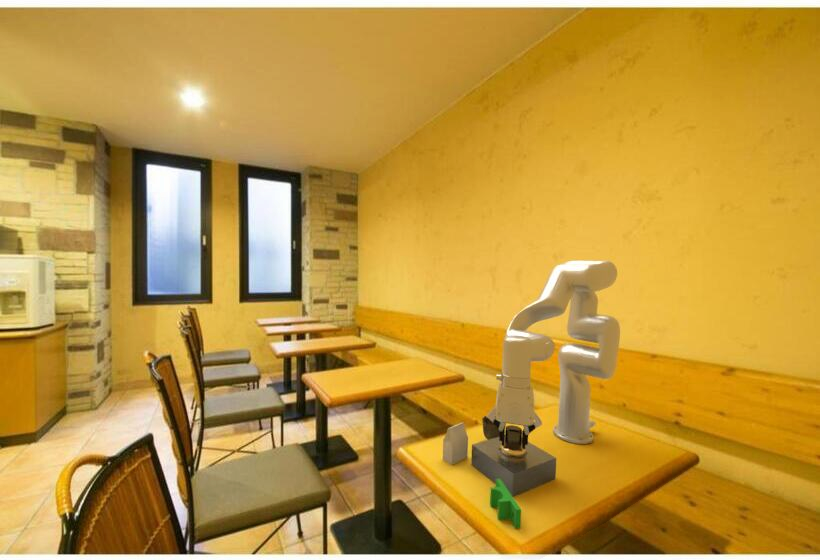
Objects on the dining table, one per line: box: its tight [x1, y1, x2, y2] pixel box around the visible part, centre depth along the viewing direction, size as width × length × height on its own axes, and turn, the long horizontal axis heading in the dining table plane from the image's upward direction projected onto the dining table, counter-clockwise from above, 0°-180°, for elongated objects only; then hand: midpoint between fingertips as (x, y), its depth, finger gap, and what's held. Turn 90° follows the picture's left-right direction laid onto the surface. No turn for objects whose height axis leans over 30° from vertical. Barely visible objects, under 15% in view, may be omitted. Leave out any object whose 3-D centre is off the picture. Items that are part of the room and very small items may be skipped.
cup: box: [481, 415, 507, 440], centre depth 114 cm, size 8×7×8 cm
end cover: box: [500, 424, 526, 458], centre depth 99 cm, size 7×7×11 cm
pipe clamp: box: [489, 479, 522, 530], centre depth 83 cm, size 11×4×5 cm, turn 9°
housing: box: [470, 437, 557, 498], centre depth 99 cm, size 16×16×6 cm
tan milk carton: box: [442, 422, 469, 466], centre depth 105 cm, size 4×7×10 cm, turn 130°
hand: (513, 444), depth 99 cm, fingers open, 4 cm apart
